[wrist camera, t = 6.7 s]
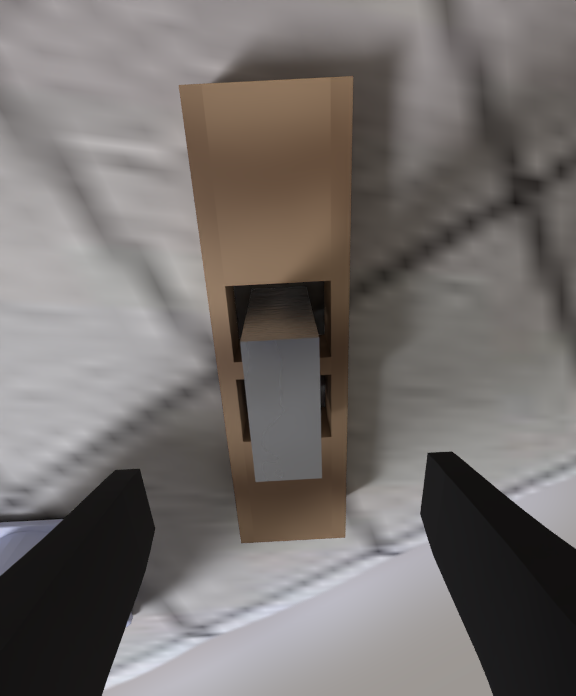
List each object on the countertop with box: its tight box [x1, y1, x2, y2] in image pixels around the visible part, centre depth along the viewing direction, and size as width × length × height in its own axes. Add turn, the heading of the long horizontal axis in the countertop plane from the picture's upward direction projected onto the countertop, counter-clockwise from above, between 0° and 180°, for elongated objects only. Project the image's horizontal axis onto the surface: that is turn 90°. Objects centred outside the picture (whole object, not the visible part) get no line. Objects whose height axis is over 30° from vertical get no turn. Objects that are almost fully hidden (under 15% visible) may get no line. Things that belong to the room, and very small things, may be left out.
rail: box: [179, 76, 353, 543], centre depth 17 cm, size 20×5×2 cm, turn 3°
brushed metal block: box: [240, 286, 322, 482], centre depth 16 cm, size 6×2×6 cm, turn 3°
